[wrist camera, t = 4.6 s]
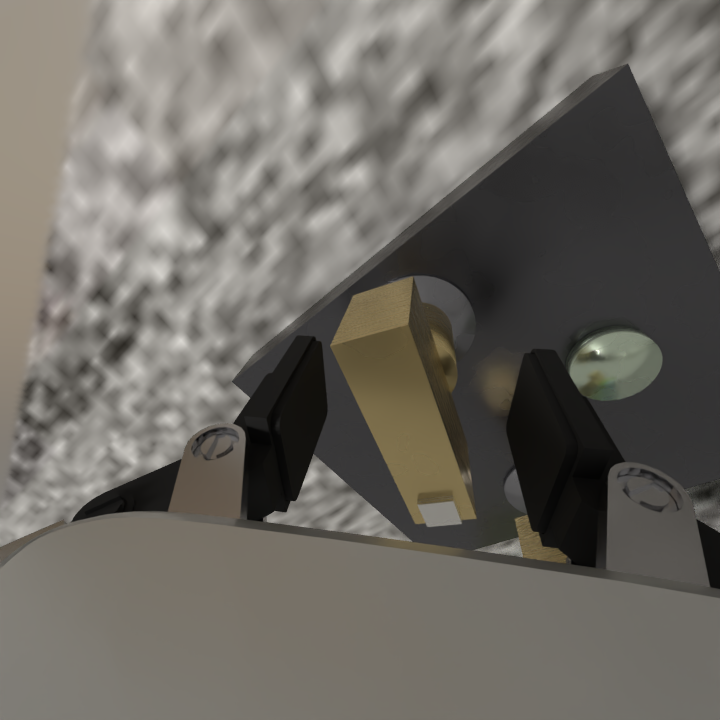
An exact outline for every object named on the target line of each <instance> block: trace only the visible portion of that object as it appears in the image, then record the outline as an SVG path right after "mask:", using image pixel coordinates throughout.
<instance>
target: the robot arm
mask: <svg viewBox="0 0 720 720" xmlns="http://www.w3.org/2000/svg"><path fill="white" fill-rule="evenodd" d="M327 412H328V404H327V393H326V382H325V371H324V360H323V349H322V343H321V341H316V337H315V336H302V335H297V336H296V337H295V339H294V340H293V342H292V344H291V345H290V347H289V348H288V350H287V351H286V353H285V354H284V356H283V357H282V359H281V360H280V362H279V363H278V365H277V366H276V368H275V370H274V371H273V373H268V374H267V375H266V376H265V377H264V379H263V380H262V382H261V383H260V385H259V386H258V388H257V389H256V391H255V392H254V394H253V395H252V397H251V398H250V400H249V401H248V403H247V404H246V405H245V407H244V408H243V410H242V411H241V413H240V414H239V416H238V417H237V419H236V420H235V422H234V423H233V424H230V423H221V424H215V425H211V426H208V427H206V428H204V429H202V430H200V431H199V432H197V433H196V434H194V435H193V436H192V437H191V438H190V440H189V441H188V442H187V444H186V446H185V449H184V453H183V456H182V459H181V460H178V461H176V462H174V463H171V464H169V465H167V466H165V467H162V468H160V469H158V470H155V471H153V472H151V473H149V474H146V475H144V476H142V477H139V478H137V479H135V480H133V481H130V482H128V483H126V484H123V485H121V486H119V487H117V488H114V489H112V490H110V491H107V492H105V493H103V494H101V495H99V496H98V497H96V498H94V499H92V500H91V501H90V502H88V503H87V504H86V505H84V506H83V507H82V508H81V509H80V511H79V512H78V513H77V514H76V515H75V516H74V518H73V520H72V522H70V523H68V524H67V523H66V522H65V520H64V519H63V520H61V521H59V522H56V523H54V524H52V525H50V526H47V527H45V528H43V529H40V530H38V531H36V532H34V533H31V534H29V535H27V536H24V537H22V538H20V539H18V540H15V541H13V542H11V543H9V544H6V545H4V546H2V547H0V720H720V533H719V532H718V531H716V530H714V529H712V528H711V527H709V526H707V525H706V524H704V523H702V522H700V521H699V520H697V519H696V516H695V511H694V506H693V503H692V500H691V498H690V496H689V494H688V493H687V492H686V491H685V489H684V488H683V487H682V486H681V485H680V484H679V483H678V482H676V481H675V480H674V479H673V478H671V477H670V476H668V475H666V474H665V473H663V472H661V471H659V470H657V469H654V468H652V467H650V466H647V465H643V464H639V463H632V462H625V460H624V458H623V457H622V455H621V453H620V452H619V450H618V448H617V447H616V445H615V443H614V442H613V440H612V438H611V437H610V435H609V433H608V432H607V430H606V428H605V427H604V425H603V423H602V422H601V420H600V418H599V417H598V415H597V413H596V412H595V410H594V408H593V407H592V405H591V403H590V402H589V400H588V399H587V398H586V397H585V396H582V395H581V394H580V392H579V390H578V388H577V387H576V385H575V383H574V382H573V380H572V378H571V376H570V375H569V373H568V371H567V370H566V368H565V366H564V364H563V363H562V361H561V359H560V358H559V356H558V354H557V352H556V351H555V350H550V349H532V351H531V352H530V353H525V354H524V356H523V359H522V363H521V367H520V371H519V375H518V379H517V383H516V387H515V391H514V395H513V399H512V403H511V407H510V411H509V415H508V419H507V423H506V433H507V437H508V441H509V445H510V449H511V453H512V457H513V460H514V464H515V468H516V472H517V476H518V480H519V484H520V488H521V491H522V495H523V499H524V503H525V507H526V511H527V515H528V518H529V522H530V526H531V529H532V531H534V532H539V536H540V539H541V543H542V546H543V547H551V548H558V549H559V550H560V551H561V552H562V553H564V554H565V555H566V556H567V558H566V564H564V563H557V562H550V561H543V560H536V559H529V558H522V557H515V556H508V555H502V554H495V553H488V552H481V551H473V550H466V549H459V548H452V547H445V546H438V545H430V544H423V543H416V542H409V541H401V540H394V539H387V538H380V537H372V536H365V535H358V534H350V533H343V532H336V531H328V530H320V529H313V528H305V527H298V526H290V525H283V524H275V523H268V522H267V517H266V516H267V515H269V514H271V513H272V512H274V511H280V512H287V509H288V506H289V504H290V501H296V500H297V498H298V495H299V492H300V490H301V487H302V484H303V481H304V478H305V476H306V473H307V470H308V467H309V465H310V462H311V459H312V456H313V453H314V451H315V448H316V445H317V442H318V440H319V437H320V434H321V431H322V429H323V426H324V423H325V420H326V417H327Z"/></svg>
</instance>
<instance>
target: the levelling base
mask: <svg viewBox="0 0 720 720" xmlns="http://www.w3.org/2000/svg"><path fill="white" fill-rule="evenodd" d="M412 276H413V277H414V280H415V283H416V286H417V289H418V292H419V295H420V298H421V301H422V302H423V303H429V304H432V305H434V306H436V307H438V308H439V309H441V310H442V311H443V312H444V313H445V314H446V315H447V316H448V318H449V320H450V322H451V326H452V332H453V340H454V348H455V356H456V364H457V374H458V377H457V383H456V386H455V388H454V390H453V391H452V393H451V394H452V398H453V401H454V404H455V407H456V410H457V413H458V416H459V419H460V422H461V425H462V429H463V432H464V435H465V438H466V441H467V446H468V454H469V462H470V470H471V478H472V486H473V494H474V502H475V510H476V518H477V519H467V520H462V524H457V525H446V526H434V527H427V525H426V523H422V524H415V522H414V520H413V518H412V516H411V514H410V512H409V510H408V508H407V506H406V504H405V501H404V499H403V497H402V495H401V493H400V491H399V489H398V487H397V485H396V483H395V481H394V479H393V476H392V474H391V472H390V470H389V468H388V466H387V464H386V462H385V460H384V458H383V456H382V453H381V451H380V449H379V447H378V445H377V443H376V441H375V439H374V437H373V435H372V433H371V431H370V428H369V426H368V424H367V422H366V420H365V418H364V416H363V414H362V412H361V410H360V408H359V405H358V403H357V401H356V399H355V397H354V395H353V393H352V391H351V389H350V387H349V385H348V383H347V380H346V378H345V376H344V374H343V372H342V370H341V368H340V366H339V364H338V362H337V360H336V357H335V355H334V353H333V351H332V349H331V347H330V345H331V343H332V341H333V339H334V336H335V334H336V332H337V330H338V328H339V326H340V323H341V321H342V319H343V317H344V315H345V313H346V310H347V308H348V306H349V304H350V302H351V300H352V297H353V295H356V294H359V293H362V292H365V291H368V290H371V289H374V288H378V287H381V286H384V285H387V284H390V283H393V282H396V281H400V280H403V279H406V278H409V277H412ZM297 335H302V336H315V337H316V341H321V343H322V349H323V360H324V371H325V382H326V393H327V404H328V412H327V417H326V420H325V423H324V426H323V429H322V431H321V434H320V437H319V440H318V442H317V445H316V448H315V451H314V453H313V454H314V455H316V456H317V457H318V458H319V459H320V460H321V461H322V462H323V463H325V464H326V465H327V466H328V467H329V468H330V469H331V470H333V471H334V472H335V473H336V474H337V475H338V476H339V477H340V478H342V479H343V480H344V481H345V482H346V483H347V484H348V485H349V486H351V487H352V488H353V489H354V490H355V491H356V492H357V493H358V494H360V495H361V496H362V497H363V498H364V499H365V500H366V501H368V502H369V503H370V504H371V505H372V506H373V507H374V508H375V509H377V510H378V511H379V512H380V513H381V514H382V515H383V516H384V517H386V518H387V519H388V520H389V521H390V522H391V523H392V524H394V525H395V526H396V527H397V528H398V529H399V530H400V531H401V532H403V533H404V534H405V535H406V536H407V537H408V538H409V539H410V540H412V541H413V542H416V543H423V544H430V545H438V546H445V547H452V548H459V549H466V550H475V549H478V548H482V547H485V546H489V545H492V544H496V543H499V542H503V541H506V540H510V539H513V538H516V537H519V536H518V531H517V527H516V522H515V519H516V518H519V517H522V516H525V515H527V511H526V507H525V503H524V499H523V495H522V491H521V488H520V484H519V480H518V476H517V472H516V468H515V464H514V460H513V457H512V453H511V449H510V445H509V441H508V437H507V433H506V423H507V419H508V415H509V411H510V407H511V403H512V399H513V395H514V391H515V387H516V383H517V379H518V375H519V371H520V367H521V363H522V359H523V356H524V354H525V353H530V352H531V351H532V349H550V350H555V351H556V352H557V354H558V356H559V358H560V359H561V361H562V363H563V364H564V366H565V368H566V370H567V371H568V373H569V375H570V376H571V378H572V380H573V382H574V383H575V385H576V387H577V388H578V390H579V392H580V394H581V395H582V396H585V397H586V398H587V399H588V400H589V402H590V403H591V405H592V407H593V408H594V410H595V412H596V413H597V415H598V417H599V418H600V420H601V422H602V423H603V425H604V427H605V428H606V430H607V432H608V433H609V435H610V437H611V438H612V440H613V442H614V443H615V445H616V447H617V448H618V450H619V452H620V453H621V455H622V457H623V458H624V460H625V462H632V463H639V464H643V465H647V466H650V467H652V468H654V469H657V470H659V471H661V472H663V473H665V474H666V475H668V476H670V477H671V478H673V479H674V480H675V481H676V482H678V483H679V484H680V485H681V486H682V487H683V488H684V489H686V488H689V487H693V486H696V485H700V484H703V483H707V482H710V481H714V480H717V479H720V272H719V269H718V267H717V265H716V263H715V260H714V258H713V256H712V253H711V251H710V249H709V247H708V244H707V242H706V240H705V238H704V235H703V233H702V231H701V228H700V226H699V224H698V222H697V219H696V217H695V215H694V213H693V210H692V208H691V206H690V203H689V201H688V199H687V197H686V194H685V192H684V190H683V188H682V185H681V183H680V181H679V178H678V176H677V174H676V172H675V169H674V167H673V165H672V163H671V160H670V158H669V156H668V153H667V151H666V149H665V147H664V144H663V142H662V140H661V138H660V135H659V133H658V131H657V129H656V126H655V124H654V122H653V119H652V117H651V115H650V113H649V110H648V108H647V106H646V104H645V101H644V99H643V97H642V94H641V92H640V90H639V88H638V85H637V83H636V81H635V79H634V76H633V74H632V72H631V69H630V67H629V65H628V64H626V65H623V66H620V67H617V68H614V69H611V70H609V71H606V72H603V73H600V74H597V75H594V76H592V77H591V78H589V79H588V80H587V81H586V82H585V83H583V84H582V85H581V86H580V87H578V88H577V89H576V90H575V91H574V92H572V93H571V94H570V95H569V96H567V97H566V98H565V99H564V100H563V101H561V102H560V103H559V104H558V105H557V106H555V107H554V108H553V109H552V110H550V111H549V112H548V113H547V114H546V115H544V116H543V117H542V118H541V119H539V120H538V121H537V122H536V123H535V124H533V125H532V126H531V127H530V128H529V129H527V130H526V131H525V132H524V133H522V134H521V135H520V136H519V137H518V138H516V139H515V140H514V141H513V142H512V143H510V144H509V145H508V146H507V147H505V148H504V149H503V150H502V151H501V152H499V153H498V154H497V155H496V156H494V157H493V158H492V159H491V160H490V161H488V162H487V163H486V164H485V165H484V166H482V167H481V168H480V169H479V170H477V171H476V172H475V173H474V174H473V175H471V176H470V177H469V178H468V179H466V180H465V181H464V182H463V183H462V184H460V185H459V186H458V187H457V188H456V189H454V190H453V191H452V192H451V193H449V194H448V195H447V196H446V197H445V198H443V199H442V200H441V201H440V202H439V203H437V204H436V205H435V206H434V207H432V208H431V209H430V210H429V211H428V212H426V213H425V214H424V215H423V216H421V217H420V218H419V219H418V220H417V221H415V222H414V223H413V224H412V225H411V226H409V227H408V228H407V229H406V230H404V231H403V232H402V233H401V234H400V235H398V236H397V237H396V238H395V239H393V240H392V241H391V242H390V243H389V244H387V245H386V246H385V247H384V248H383V249H381V250H380V251H379V252H378V253H376V254H375V255H374V256H373V257H372V258H370V259H369V260H368V261H367V262H366V263H364V264H363V265H362V266H361V267H359V268H358V269H357V270H356V271H355V272H353V273H352V274H351V275H350V276H348V277H347V278H346V279H345V280H344V281H342V282H341V283H340V284H339V285H338V286H336V287H335V288H334V289H333V290H331V291H330V292H329V293H328V294H327V295H325V296H324V297H323V298H322V299H320V300H319V301H318V302H317V303H316V304H314V305H313V306H312V307H311V308H310V309H308V310H307V311H306V312H305V313H303V314H302V315H301V316H300V317H299V318H297V319H296V320H295V321H294V322H293V323H291V324H290V325H289V326H288V327H286V328H285V329H284V330H283V331H282V332H280V333H279V334H278V335H277V336H275V337H274V338H273V339H272V340H271V341H269V342H268V343H267V344H266V345H265V346H263V347H262V348H261V349H260V350H258V351H257V352H256V353H255V354H254V355H252V357H251V358H250V359H249V361H248V362H247V363H246V364H245V366H244V367H243V368H242V369H241V371H240V372H239V373H238V374H237V376H236V377H235V378H234V379H233V381H232V382H233V383H234V384H235V385H236V386H238V387H239V388H240V389H241V390H242V391H243V392H244V393H246V394H247V395H248V396H249V397H250V398H251V397H252V395H253V394H254V392H255V391H256V389H257V388H258V386H259V385H260V383H261V382H262V380H263V379H264V377H265V376H266V375H267V374H268V373H273V371H274V370H275V368H276V366H277V365H278V363H279V362H280V360H281V359H282V357H283V356H284V354H285V353H286V351H287V350H288V348H289V347H290V345H291V344H292V342H293V340H294V339H295V337H296V336H297Z"/></svg>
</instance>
